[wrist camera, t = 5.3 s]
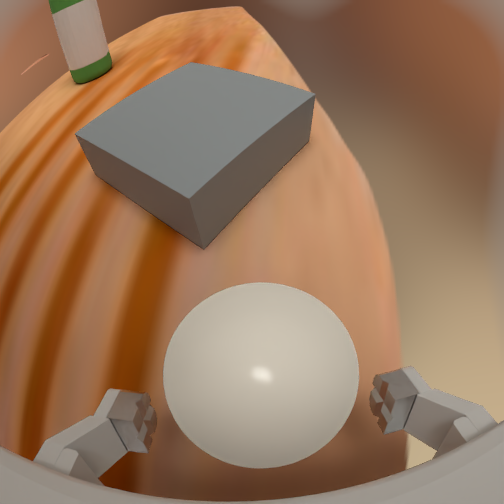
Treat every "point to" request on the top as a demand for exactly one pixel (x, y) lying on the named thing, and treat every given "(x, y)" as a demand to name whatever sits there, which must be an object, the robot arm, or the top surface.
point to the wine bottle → (81, 38)
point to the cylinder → (261, 375)
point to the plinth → (198, 144)
